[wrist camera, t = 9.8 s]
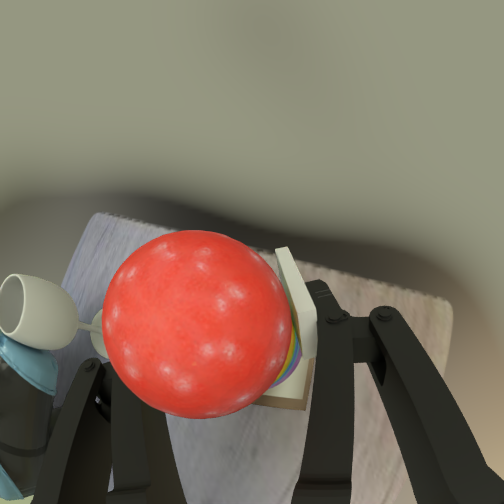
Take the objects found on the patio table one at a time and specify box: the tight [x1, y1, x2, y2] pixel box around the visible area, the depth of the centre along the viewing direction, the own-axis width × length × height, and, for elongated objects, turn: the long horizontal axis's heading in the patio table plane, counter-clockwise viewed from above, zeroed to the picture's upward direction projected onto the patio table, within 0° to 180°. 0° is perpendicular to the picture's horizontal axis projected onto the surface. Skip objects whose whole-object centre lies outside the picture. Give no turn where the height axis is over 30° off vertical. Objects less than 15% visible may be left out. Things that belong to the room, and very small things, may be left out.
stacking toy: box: [102, 230, 302, 419], centre depth 14 cm, size 8×8×19 cm
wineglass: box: [0, 274, 109, 359], centre depth 28 cm, size 9×9×21 cm
